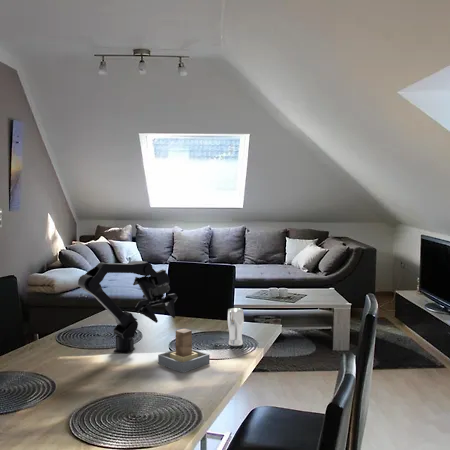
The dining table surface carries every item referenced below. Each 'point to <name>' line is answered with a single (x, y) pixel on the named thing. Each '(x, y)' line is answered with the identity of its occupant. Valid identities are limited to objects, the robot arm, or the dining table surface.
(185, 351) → the post
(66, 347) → the dining table surface
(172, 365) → the housing
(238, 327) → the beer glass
